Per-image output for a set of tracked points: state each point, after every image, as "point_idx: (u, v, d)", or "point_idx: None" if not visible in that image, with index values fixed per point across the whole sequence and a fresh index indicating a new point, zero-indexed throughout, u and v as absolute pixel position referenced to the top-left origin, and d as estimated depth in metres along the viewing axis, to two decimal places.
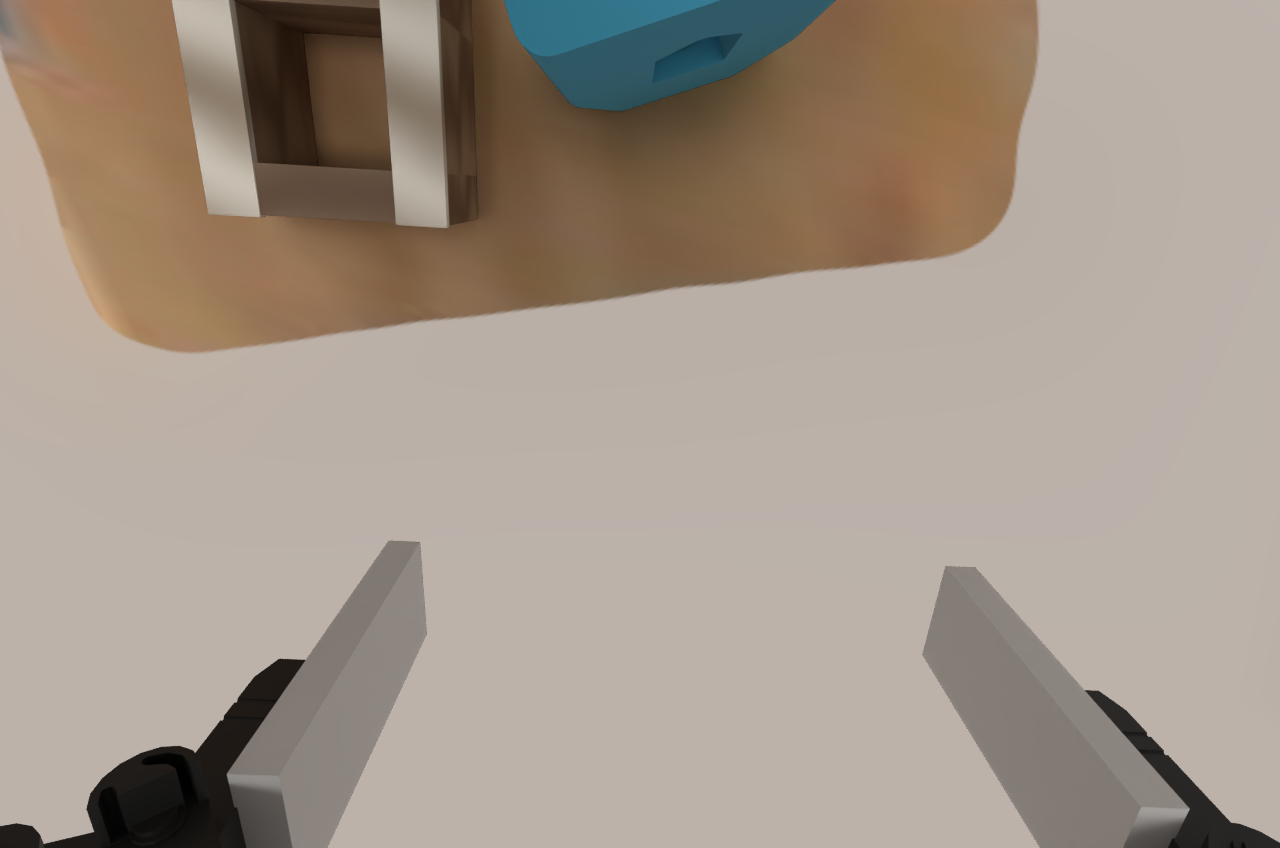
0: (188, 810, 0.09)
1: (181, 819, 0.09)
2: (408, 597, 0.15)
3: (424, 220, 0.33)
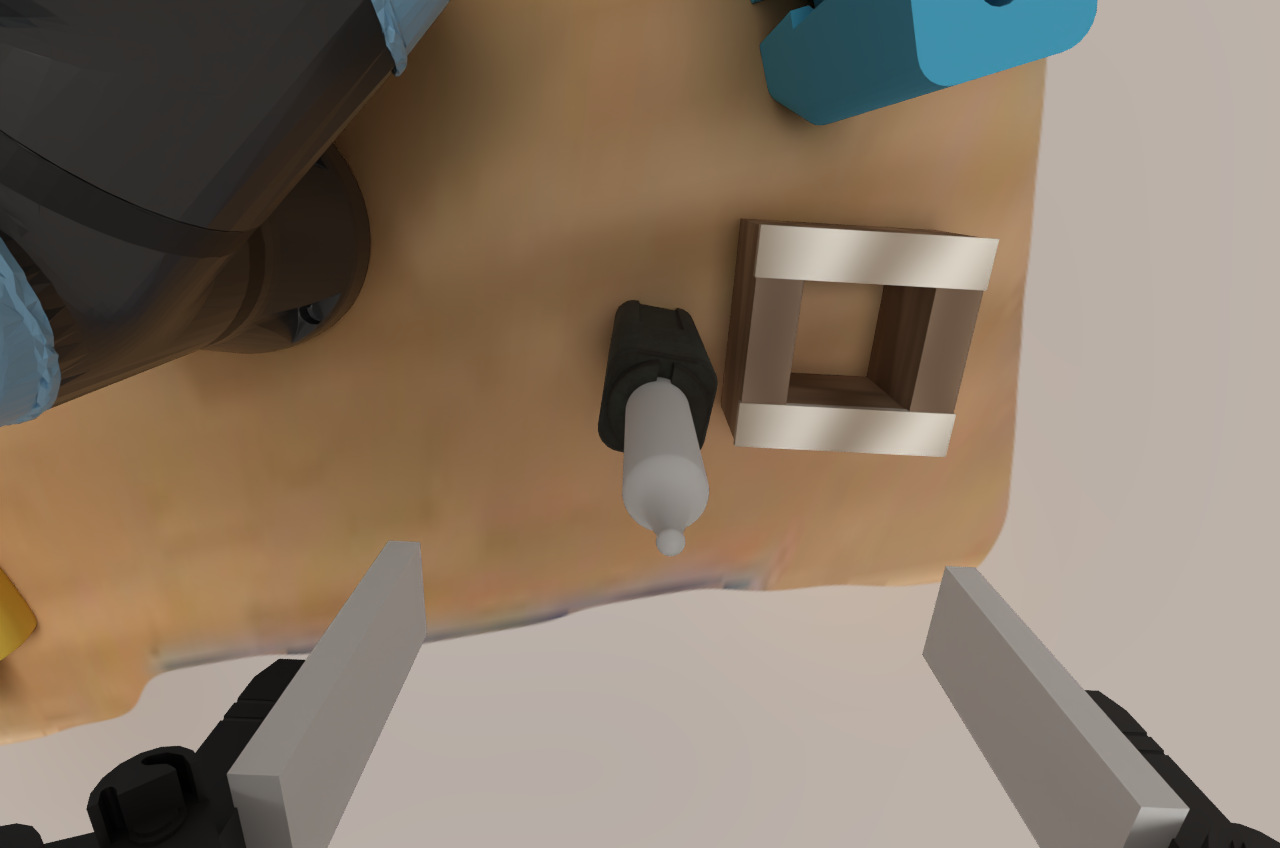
0: (188, 810, 0.09)
1: (181, 819, 0.09)
2: (408, 597, 0.15)
3: (987, 261, 0.33)
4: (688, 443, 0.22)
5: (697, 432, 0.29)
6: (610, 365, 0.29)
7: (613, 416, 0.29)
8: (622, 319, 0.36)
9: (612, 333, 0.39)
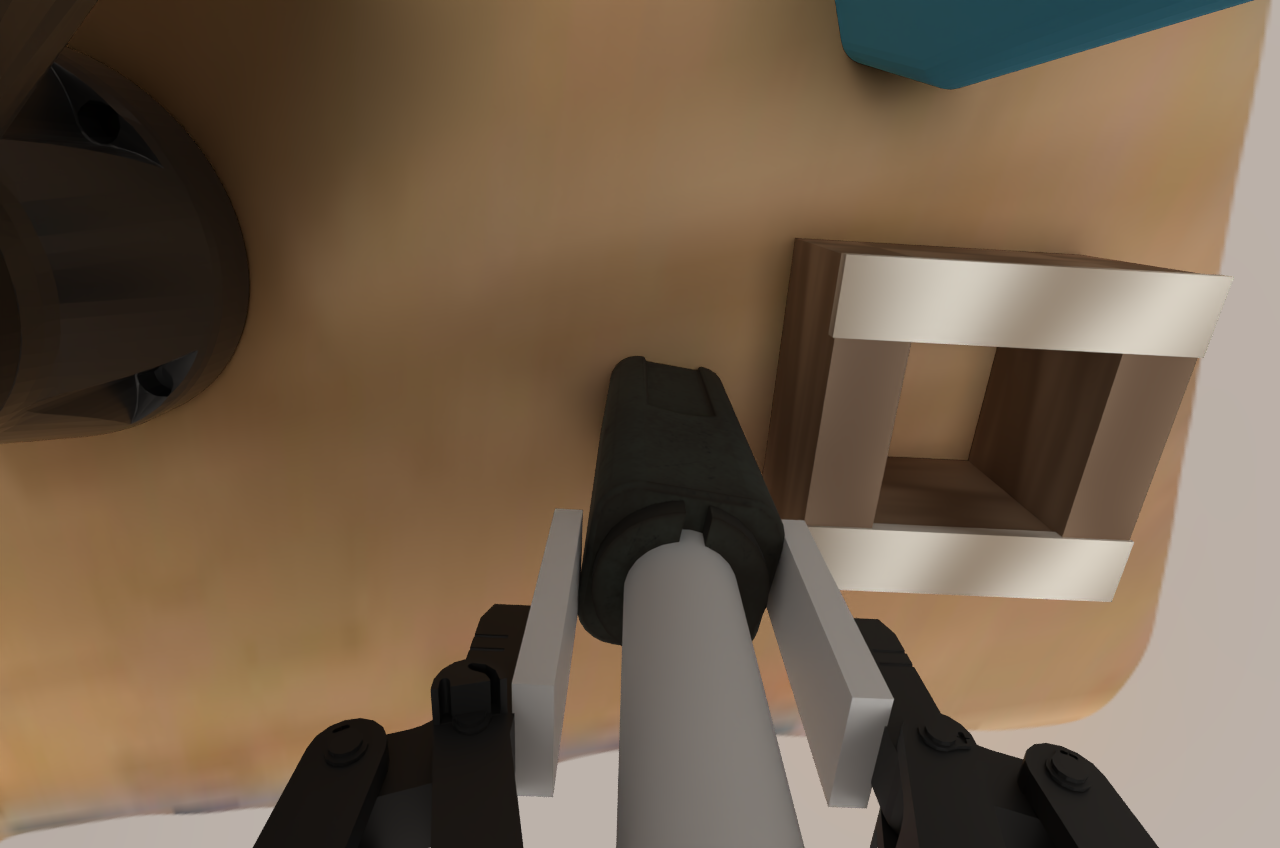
0: (492, 716, 0.11)
1: (487, 722, 0.11)
2: (578, 557, 0.17)
3: (1208, 313, 0.20)
4: (765, 783, 0.10)
5: (749, 623, 0.17)
6: (597, 509, 0.16)
7: (602, 598, 0.16)
8: (619, 397, 0.23)
9: (605, 407, 0.27)
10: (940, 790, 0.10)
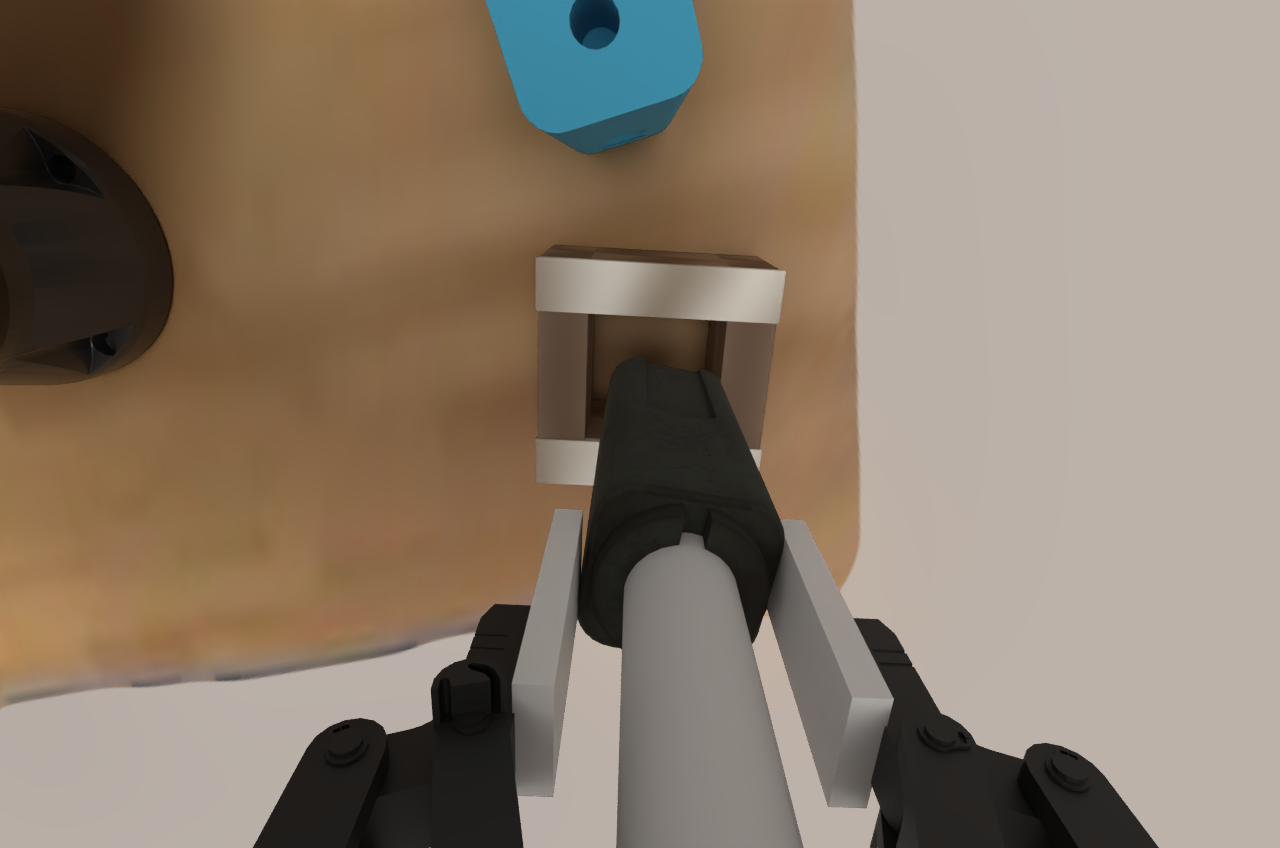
0: (492, 716, 0.11)
1: (487, 722, 0.11)
2: (579, 557, 0.17)
3: (776, 294, 0.32)
4: (765, 788, 0.10)
5: (749, 626, 0.17)
6: (597, 512, 0.16)
7: (602, 601, 0.16)
8: (619, 399, 0.23)
9: None
10: (940, 790, 0.10)
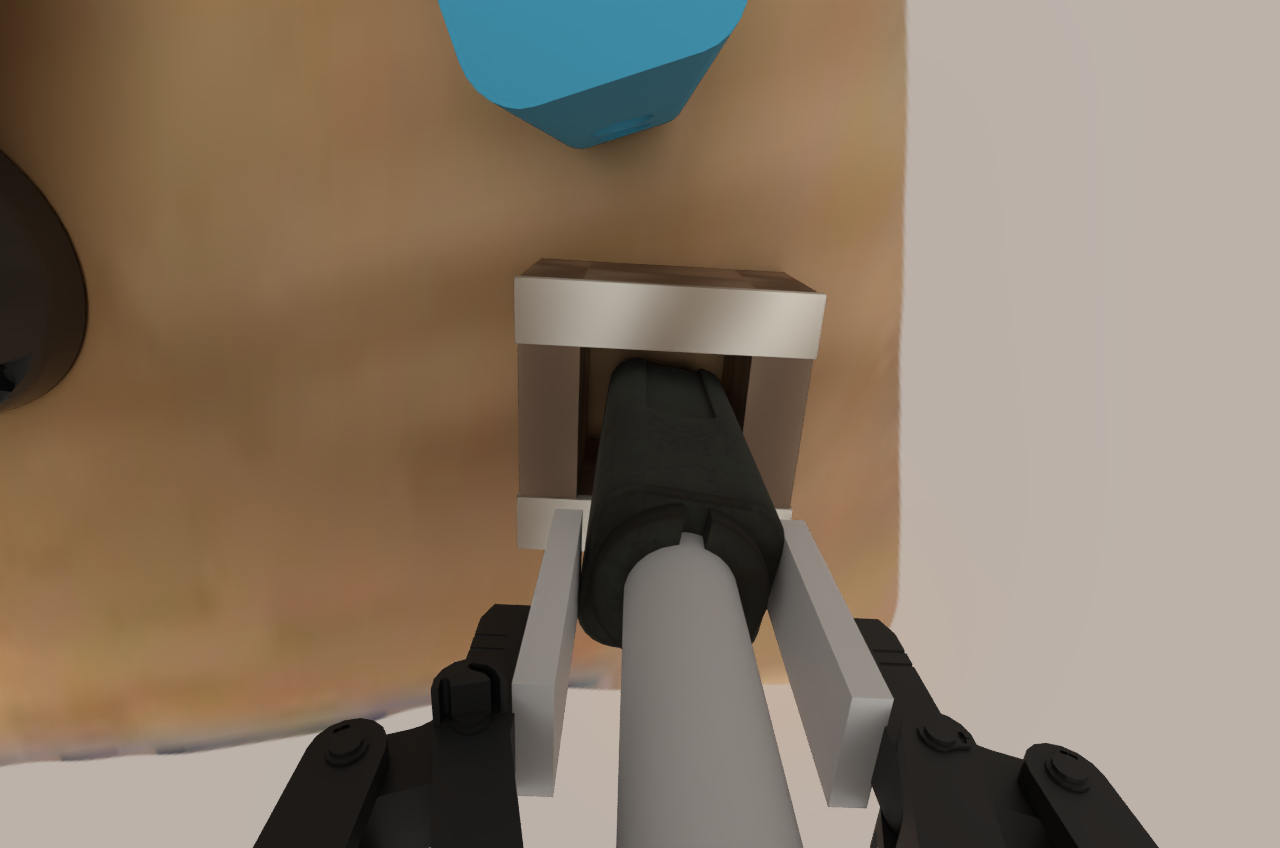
0: (492, 716, 0.11)
1: (487, 722, 0.11)
2: (579, 557, 0.17)
3: (814, 323, 0.25)
4: (765, 788, 0.10)
5: (749, 626, 0.17)
6: (597, 512, 0.16)
7: (602, 601, 0.16)
8: (619, 399, 0.23)
9: None
10: (940, 790, 0.10)
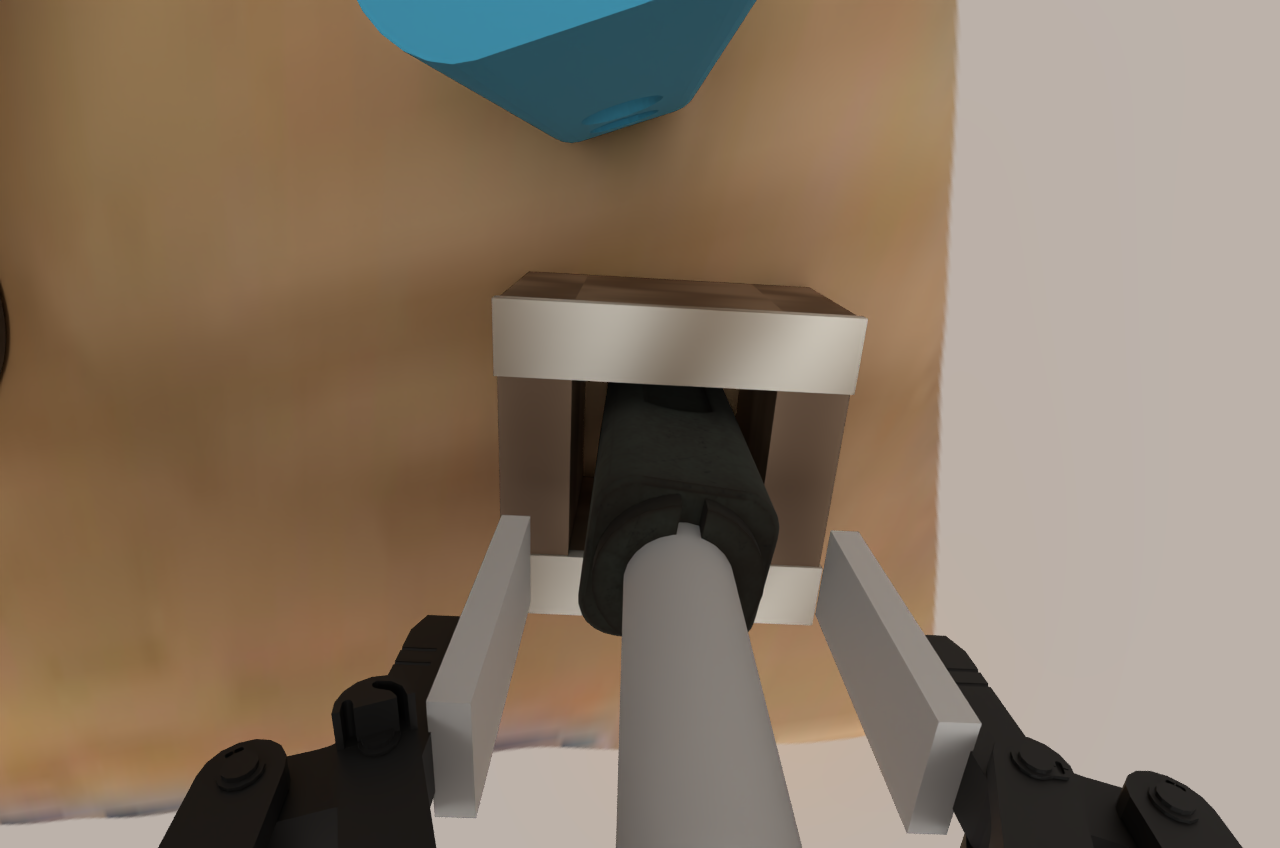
0: (402, 734, 0.10)
1: (396, 740, 0.10)
2: (524, 565, 0.16)
3: (852, 352, 0.21)
4: (757, 760, 0.10)
5: (746, 612, 0.17)
6: (596, 504, 0.17)
7: (602, 590, 0.17)
8: (618, 394, 0.24)
9: None
10: (1032, 817, 0.10)
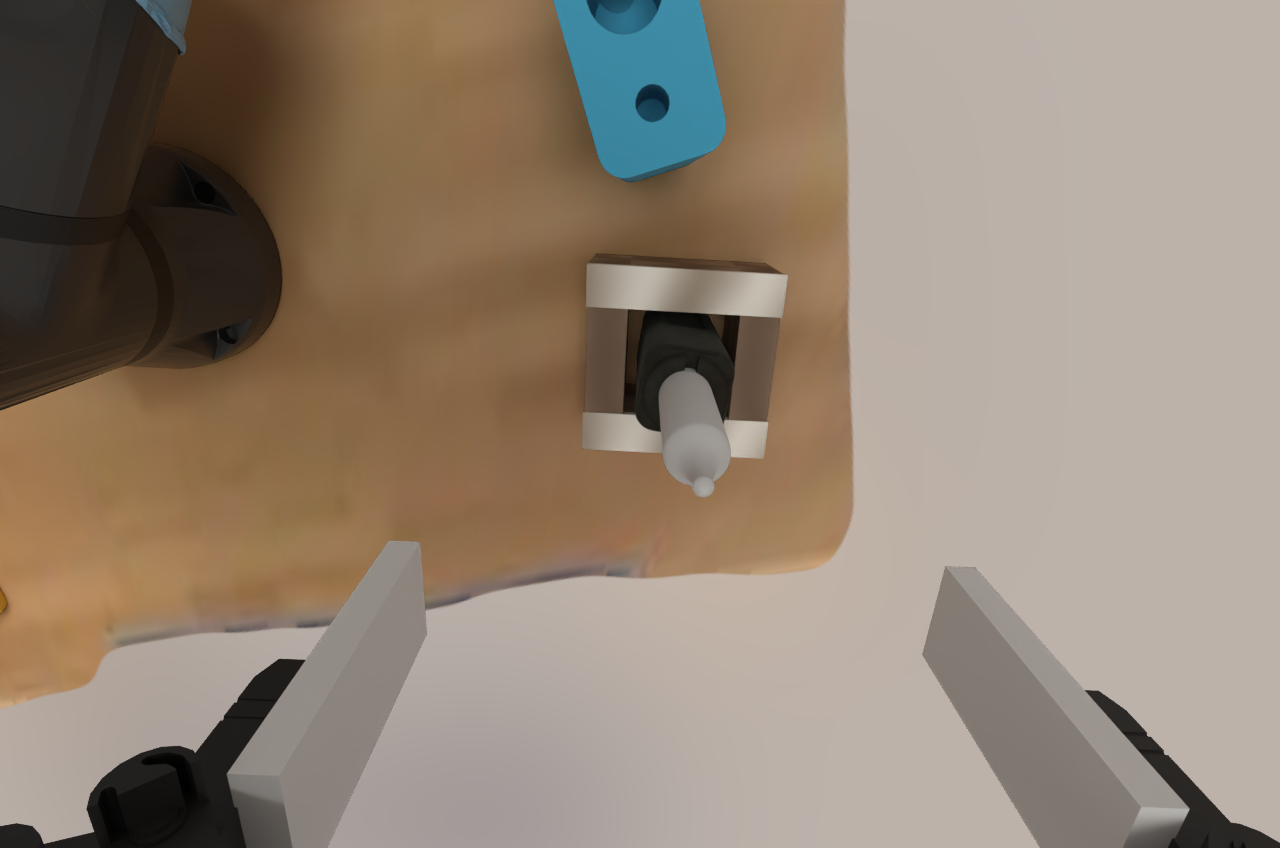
0: (188, 810, 0.09)
1: (181, 819, 0.09)
2: (408, 597, 0.15)
3: (780, 294, 0.39)
4: (713, 416, 0.28)
5: (718, 413, 0.35)
6: (645, 358, 0.35)
7: (648, 400, 0.35)
8: (651, 321, 0.42)
9: (641, 333, 0.45)
10: None
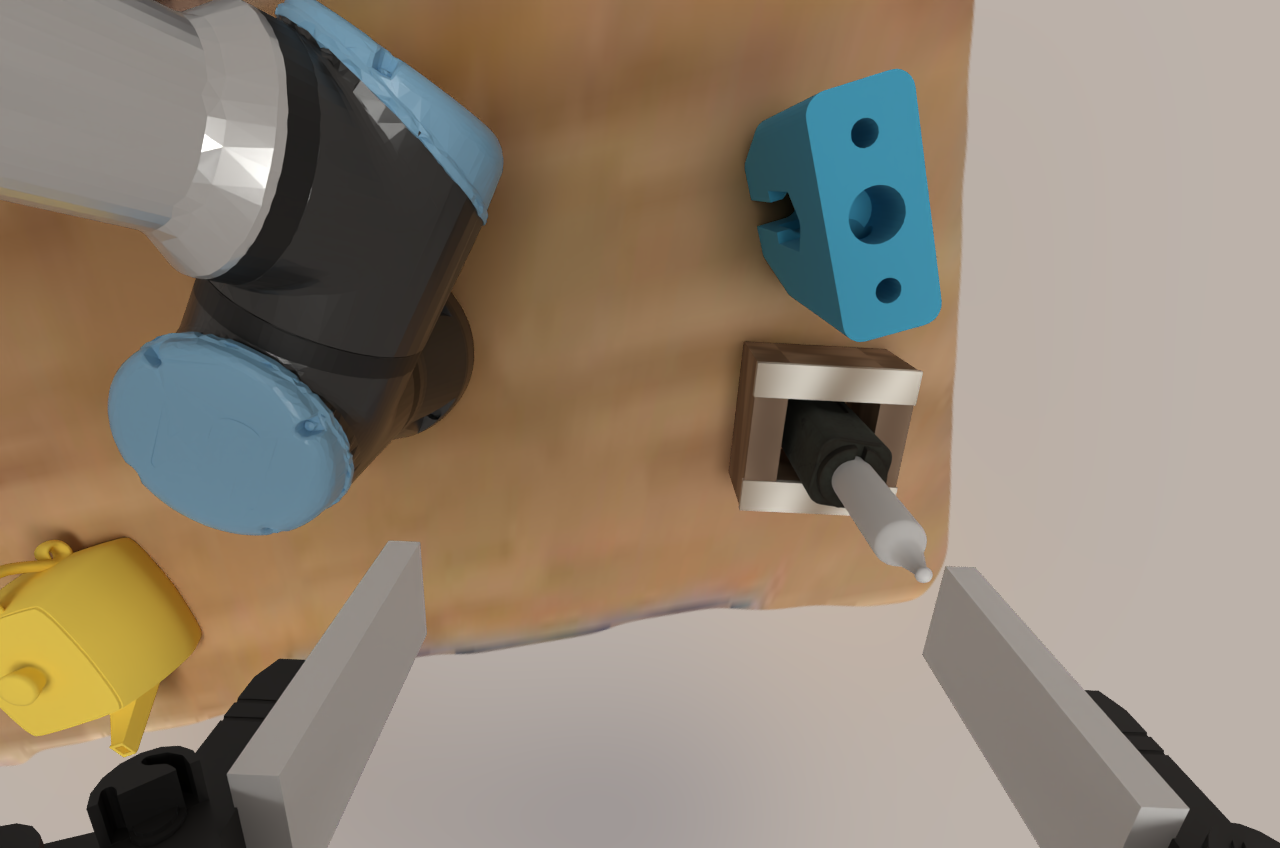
0: (188, 810, 0.09)
1: (181, 819, 0.09)
2: (408, 597, 0.15)
3: (915, 386, 0.47)
4: (907, 510, 0.36)
5: None
6: (821, 448, 0.43)
7: (823, 482, 0.43)
8: (801, 404, 0.50)
9: None
10: None
